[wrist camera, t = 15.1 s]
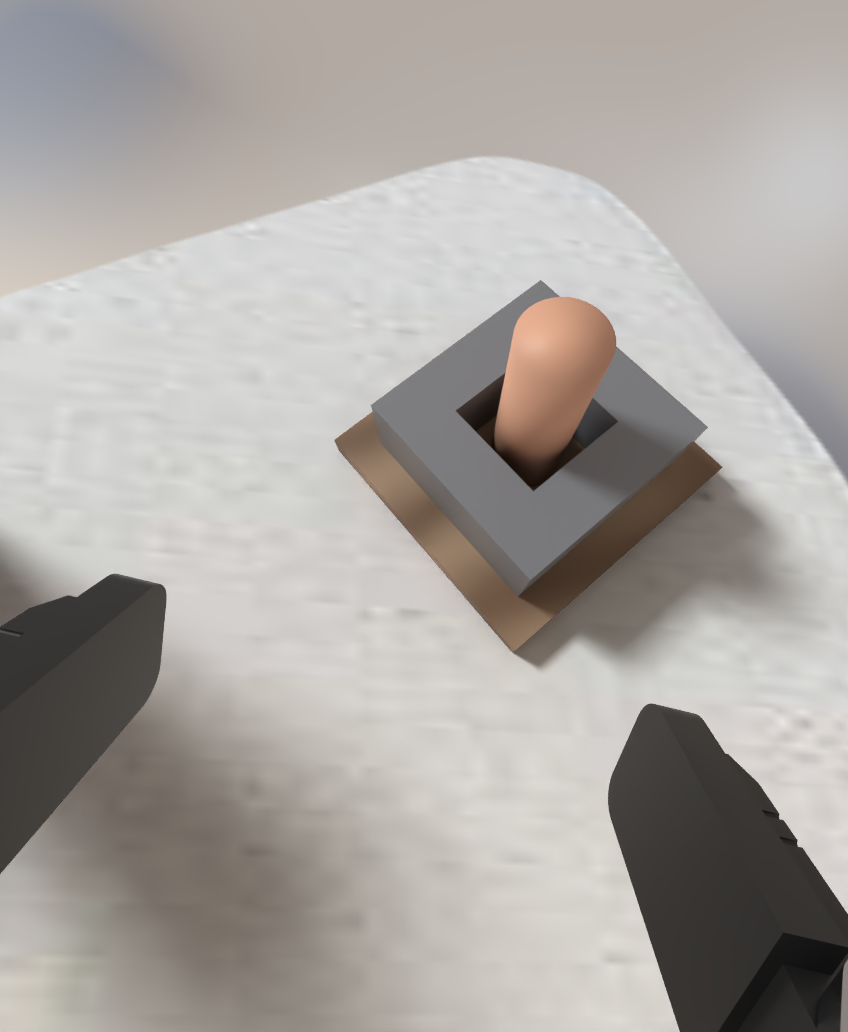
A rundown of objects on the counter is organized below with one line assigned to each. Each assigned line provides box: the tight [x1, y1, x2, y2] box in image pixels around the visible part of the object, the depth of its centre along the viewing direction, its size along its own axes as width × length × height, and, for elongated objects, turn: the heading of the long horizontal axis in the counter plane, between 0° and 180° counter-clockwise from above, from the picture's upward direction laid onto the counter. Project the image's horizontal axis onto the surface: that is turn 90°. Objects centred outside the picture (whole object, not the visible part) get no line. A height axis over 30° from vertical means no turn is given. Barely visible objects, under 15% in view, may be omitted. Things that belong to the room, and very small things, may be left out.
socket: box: [371, 280, 708, 596], centre depth 30 cm, size 12×12×4 cm
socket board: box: [335, 412, 722, 652], centre depth 32 cm, size 16×16×2 cm
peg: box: [491, 297, 616, 486], centre depth 26 cm, size 4×4×11 cm
